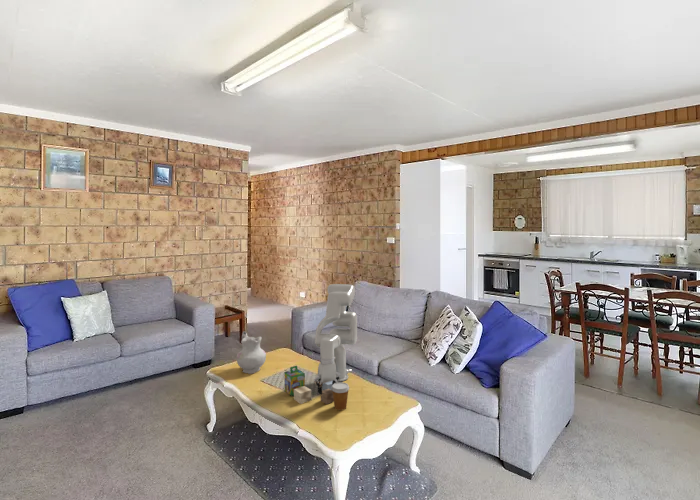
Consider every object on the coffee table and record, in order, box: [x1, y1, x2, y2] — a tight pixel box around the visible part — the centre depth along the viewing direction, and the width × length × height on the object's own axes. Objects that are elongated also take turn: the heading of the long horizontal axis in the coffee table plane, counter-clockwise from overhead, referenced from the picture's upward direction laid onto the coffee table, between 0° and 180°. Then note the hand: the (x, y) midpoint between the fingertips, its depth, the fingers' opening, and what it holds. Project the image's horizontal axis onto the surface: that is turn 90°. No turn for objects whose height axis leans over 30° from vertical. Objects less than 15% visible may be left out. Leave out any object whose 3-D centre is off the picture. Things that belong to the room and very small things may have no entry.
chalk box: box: [284, 365, 306, 397], centre depth 224 cm, size 9×9×15 cm
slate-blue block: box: [321, 381, 332, 390], centre depth 224 cm, size 6×6×6 cm
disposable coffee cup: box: [331, 381, 350, 411], centre depth 204 cm, size 10×10×12 cm
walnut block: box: [320, 389, 334, 405], centre depth 212 cm, size 6×6×6 cm
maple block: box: [293, 385, 312, 405], centre depth 213 cm, size 7×7×6 cm
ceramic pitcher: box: [236, 331, 267, 375], centre depth 257 cm, size 22×20×25 cm
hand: (327, 391), depth 211 cm, fingers open, 9 cm apart
